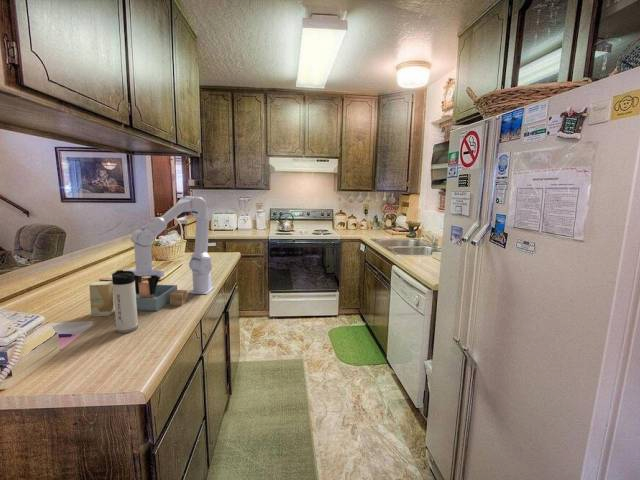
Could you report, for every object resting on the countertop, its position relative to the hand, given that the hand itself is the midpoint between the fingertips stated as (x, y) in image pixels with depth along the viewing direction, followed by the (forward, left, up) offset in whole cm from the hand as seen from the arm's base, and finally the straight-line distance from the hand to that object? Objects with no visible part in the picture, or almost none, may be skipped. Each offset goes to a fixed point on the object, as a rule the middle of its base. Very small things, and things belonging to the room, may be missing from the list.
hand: (145, 293), depth 122 cm
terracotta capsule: (0, 0, -2) cm, 2 cm away
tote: (-4, 0, -5) cm, 7 cm away
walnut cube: (-5, +11, -6) cm, 13 cm away
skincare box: (+8, -11, -6) cm, 15 cm away
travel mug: (+19, +5, -6) cm, 21 cm away
